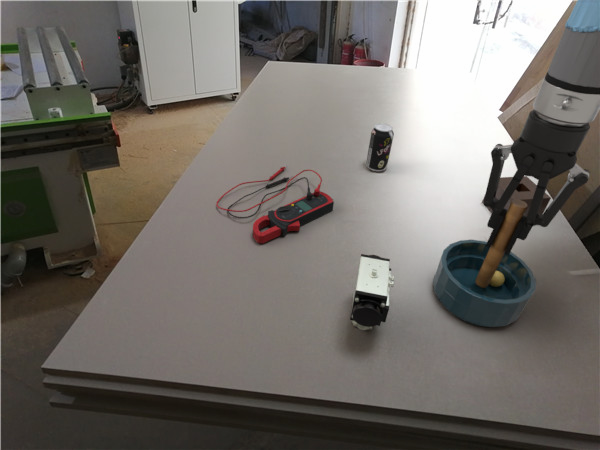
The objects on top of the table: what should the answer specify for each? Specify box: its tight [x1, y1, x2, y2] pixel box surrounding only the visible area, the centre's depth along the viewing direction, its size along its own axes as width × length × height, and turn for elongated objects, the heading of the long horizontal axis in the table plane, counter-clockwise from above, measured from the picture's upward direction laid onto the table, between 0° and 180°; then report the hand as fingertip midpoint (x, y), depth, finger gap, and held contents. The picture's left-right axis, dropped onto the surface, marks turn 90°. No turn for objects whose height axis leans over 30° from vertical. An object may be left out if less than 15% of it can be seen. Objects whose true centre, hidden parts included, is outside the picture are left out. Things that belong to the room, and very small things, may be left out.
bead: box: [490, 271, 505, 287], centre depth 75 cm, size 3×3×3 cm
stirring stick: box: [475, 199, 528, 288], centre depth 69 cm, size 2×2×18 cm
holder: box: [481, 175, 552, 217], centre depth 95 cm, size 9×9×7 cm
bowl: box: [432, 239, 537, 328], centre depth 73 cm, size 16×16×7 cm
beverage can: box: [365, 122, 395, 172], centre depth 107 cm, size 6×6×12 cm
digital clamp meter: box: [215, 164, 334, 244], centre depth 94 cm, size 23×4×25 cm
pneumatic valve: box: [349, 253, 395, 331], centre depth 65 cm, size 6×12×12 cm, turn 168°
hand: (499, 246), depth 69 cm, fingers closed on stirring stick, 2 cm apart
